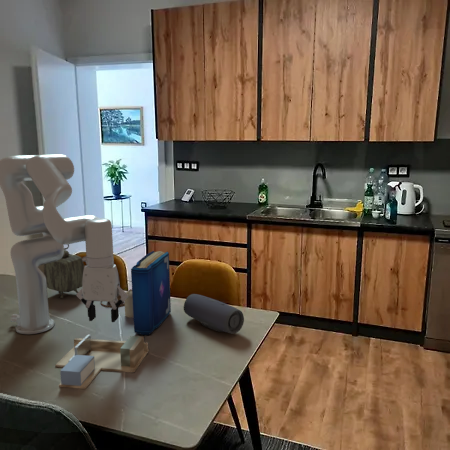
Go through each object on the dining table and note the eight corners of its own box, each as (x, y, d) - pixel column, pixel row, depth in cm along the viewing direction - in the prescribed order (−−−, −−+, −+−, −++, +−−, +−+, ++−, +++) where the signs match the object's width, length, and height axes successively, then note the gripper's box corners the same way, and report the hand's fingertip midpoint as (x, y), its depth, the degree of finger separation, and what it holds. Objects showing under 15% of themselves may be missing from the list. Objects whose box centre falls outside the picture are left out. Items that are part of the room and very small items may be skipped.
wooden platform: (36, 384, 119) (34, 364, 118) (77, 345, 142) (75, 328, 141) (121, 391, 116) (120, 370, 114) (148, 350, 138) (148, 332, 137)
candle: (127, 319, 163) (126, 293, 161) (123, 314, 168) (122, 289, 166) (141, 316, 166) (140, 291, 164) (137, 311, 170) (136, 287, 169)
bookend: (68, 362, 129) (67, 346, 128) (82, 348, 138) (81, 333, 137) (78, 363, 129) (77, 347, 128) (91, 349, 138) (90, 334, 137)
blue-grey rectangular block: (61, 384, 118) (60, 370, 117) (76, 367, 127) (76, 354, 126) (80, 385, 117) (79, 372, 116) (95, 369, 126) (94, 356, 125)
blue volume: (150, 338, 147) (148, 266, 143) (131, 336, 149) (128, 265, 144) (171, 313, 168) (169, 250, 164) (153, 312, 170) (152, 249, 165)
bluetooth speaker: (245, 332, 152) (245, 305, 150) (226, 341, 145) (226, 312, 144) (201, 314, 168) (201, 289, 166) (182, 321, 161) (182, 295, 159)
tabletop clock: (86, 296, 187) (82, 239, 183) (70, 303, 179) (66, 243, 175) (60, 291, 193) (56, 236, 188) (44, 298, 185) (39, 240, 180)
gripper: (65, 263, 124) (70, 323, 128) (124, 265, 122) (127, 326, 125) (78, 257, 132) (81, 313, 135) (133, 259, 129) (135, 316, 133)
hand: (103, 319), depth 130 cm, fingers open, 6 cm apart
